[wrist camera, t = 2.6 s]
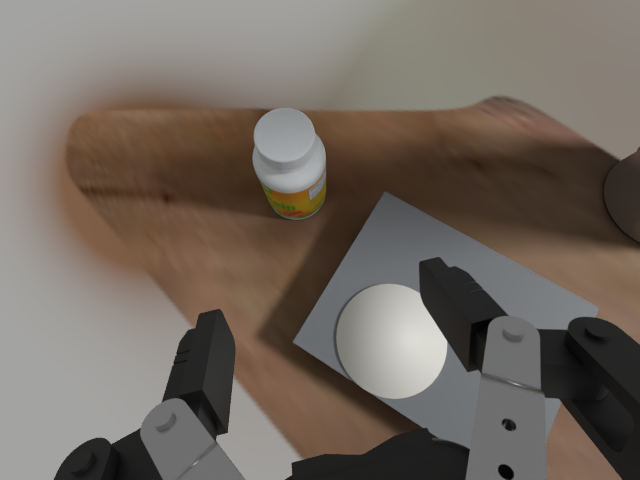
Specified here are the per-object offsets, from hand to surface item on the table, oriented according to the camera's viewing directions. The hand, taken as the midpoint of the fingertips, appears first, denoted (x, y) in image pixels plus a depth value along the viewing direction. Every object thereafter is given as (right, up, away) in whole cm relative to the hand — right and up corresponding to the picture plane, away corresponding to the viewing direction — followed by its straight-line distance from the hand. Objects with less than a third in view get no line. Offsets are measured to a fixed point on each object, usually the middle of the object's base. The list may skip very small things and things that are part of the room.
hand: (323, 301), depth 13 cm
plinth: (+9, -5, +14) cm, 17 cm away
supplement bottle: (-2, +7, +17) cm, 19 cm away
